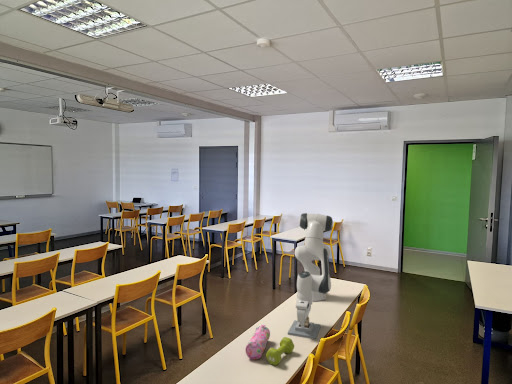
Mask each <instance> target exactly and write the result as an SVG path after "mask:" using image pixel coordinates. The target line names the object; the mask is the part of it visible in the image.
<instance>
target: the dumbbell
mask: <svg viewBox="0 0 512 384" xmlns="http://www.w3.org/2000/svg"><path fill="white" fill-rule="evenodd" d="M294 349H295V344H294V342H293V340H292V338H290V337H286V336H285V337H282V338H281V340H280V342H279V347H278V348H274V347H270V348H269V349H268V350H267V351H266V354H265V356H266V359H267V361H268V363H269V364H270V365H272V366H278V365H279V364H280V362H282V361H281V360H282V358H283V357H282V355H283V354H284V353H285V354H287V355H288V354H291V353H292V352H293V351H294Z"/></svg>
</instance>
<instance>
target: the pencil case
mask: <svg viewBox="0 0 512 384" xmlns="http://www.w3.org/2000/svg"><path fill="white" fill-rule="evenodd" d="M270 336H271V330H270V329H269V328H268V327H266V324H261V325H260V326H258V327H256V328H255V331H254V332H253V335H252V337H251V338H250V339H249V340H248V343H247V344H246V347H245V353H246V356H247V358H249V359H250V360H258V359H260V358H261V357H262V356H263V353H264V352H265V350H266V346H267V343H268V340H269V339H270Z"/></svg>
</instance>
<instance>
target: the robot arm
mask: <svg viewBox="0 0 512 384" xmlns="http://www.w3.org/2000/svg"><path fill="white" fill-rule="evenodd" d="M298 226H299V227H300V228H301V229H303V230H304V231H305V230H306V232H305V237H304V244H303V245H297V246H296V248H295V249H294V257H295V258H296V260H297V261H298V262H300V263H301V264H302V266H303V268H304V269H303V271H300V272H299V273H298V274H297V279H296V290H297V291H296V292H297V293H296V303H295V309H296V318H297V319H296V321H298V322H299V323H301V328H304V327H305V324H304V322H305V320H306V318H307V317H309V314H310V313H311V310H312V305H313V302H320V301H325V300H326V299H327V298H326V294H327V293H329V292H330V291H331V288H332V281H331V272H330V261H329V258H330V257H331V250H330V248H329V246H328V245H326V243H324V232H325V233H326V232H330V231H332V229H333V226H334V221H333V218H332V216H330V215H325V214H320V213H307V212H305V213H301V215H300V216H299V218H298ZM313 261H320V262H321V263H320V264H321V269H320V267H319V266H318V265H316V264H315V263H313Z"/></svg>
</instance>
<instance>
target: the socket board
mask: <svg viewBox="0 0 512 384" xmlns="http://www.w3.org/2000/svg"><path fill="white" fill-rule="evenodd" d="M321 325H322V324H319V323H314V322H312V321H309V328H305V327H304V328H301V327H300V323H299V322H298V321H297V320H294V321H293V322H292V324H291V325H290V328H289V329H288V331H287V335H289V336H295V337H299V338H300V337H301V338H306V339H312V340H316V339H317V338H318V335H319V332H320V330H321Z"/></svg>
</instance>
